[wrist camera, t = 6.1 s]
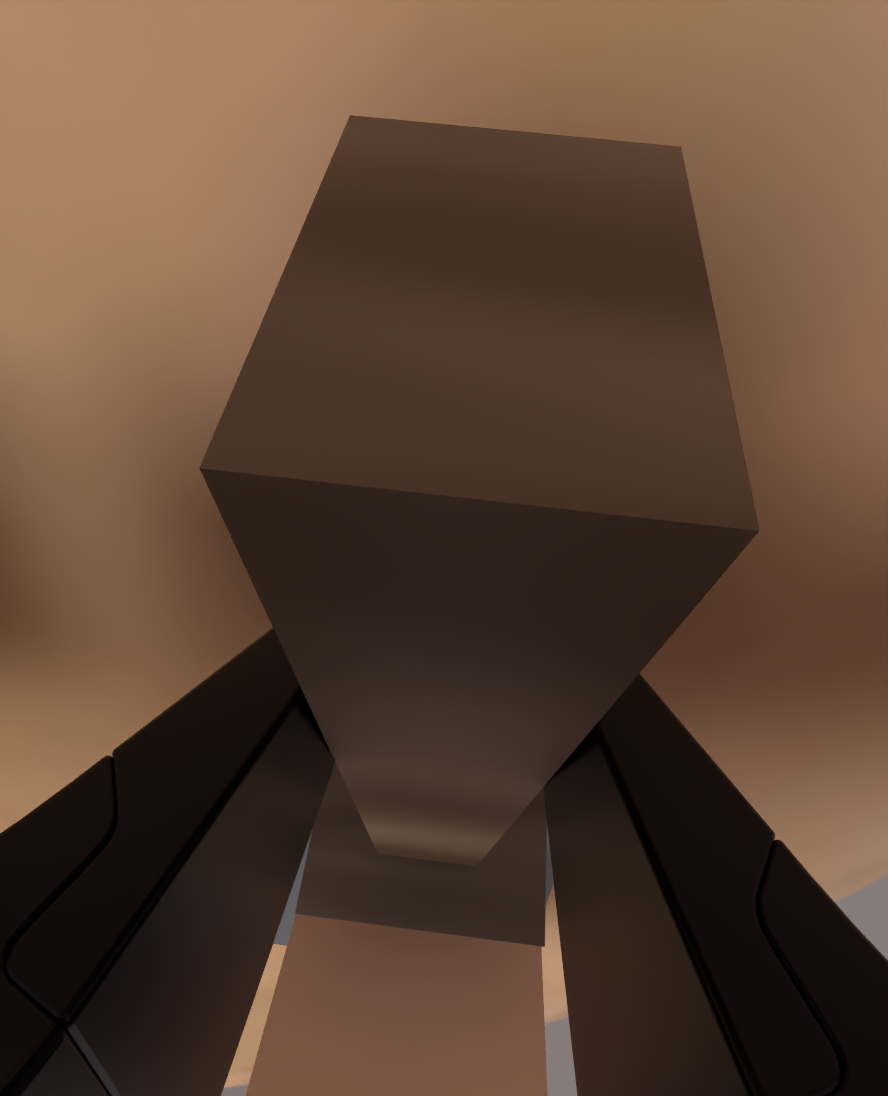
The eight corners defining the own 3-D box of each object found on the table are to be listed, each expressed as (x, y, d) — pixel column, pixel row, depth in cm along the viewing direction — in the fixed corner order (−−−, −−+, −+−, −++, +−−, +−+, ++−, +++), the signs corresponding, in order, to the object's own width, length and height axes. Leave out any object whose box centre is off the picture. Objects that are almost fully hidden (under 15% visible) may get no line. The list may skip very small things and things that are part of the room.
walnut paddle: (125, 94, 5) (-481, 763, 2) (918, 170, 5) (1432, 1010, 2) (341, 720, 18) (301, 914, 15) (542, 745, 18) (537, 945, 15)
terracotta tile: (325, 847, 21) (227, 1227, 14) (324, 810, 20) (215, 1205, 13) (525, 874, 21) (535, 1274, 14) (536, 838, 20) (553, 1255, 12)
